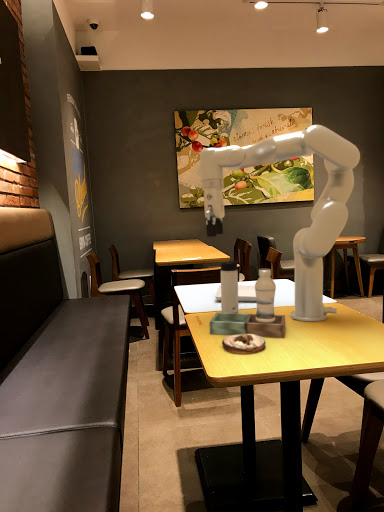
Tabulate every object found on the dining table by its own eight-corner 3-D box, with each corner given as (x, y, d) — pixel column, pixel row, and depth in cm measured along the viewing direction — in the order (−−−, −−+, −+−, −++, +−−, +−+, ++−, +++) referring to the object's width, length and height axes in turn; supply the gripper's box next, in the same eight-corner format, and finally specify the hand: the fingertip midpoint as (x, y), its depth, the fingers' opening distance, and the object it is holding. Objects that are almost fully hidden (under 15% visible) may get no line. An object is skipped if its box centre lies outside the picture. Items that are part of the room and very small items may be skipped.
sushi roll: (217, 339, 122) (216, 326, 122) (266, 338, 121) (266, 325, 121) (218, 358, 108) (217, 343, 107) (273, 357, 107) (273, 342, 106)
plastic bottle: (261, 326, 132) (260, 267, 129) (279, 330, 127) (279, 268, 125) (251, 332, 127) (250, 270, 124) (270, 335, 122) (269, 272, 120)
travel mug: (238, 316, 145) (237, 262, 142) (220, 315, 146) (219, 262, 144) (240, 311, 151) (239, 259, 148) (222, 311, 152) (221, 259, 150)
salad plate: (266, 304, 162) (266, 295, 162) (214, 303, 166) (214, 295, 165) (265, 292, 183) (265, 285, 183) (219, 292, 186) (219, 285, 186)
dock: (285, 326, 131) (285, 315, 130) (283, 337, 120) (283, 325, 120) (216, 323, 137) (216, 312, 136) (209, 333, 126) (209, 321, 126)
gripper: (217, 183, 127) (220, 237, 129) (228, 185, 143) (231, 232, 145) (194, 185, 129) (197, 237, 131) (208, 186, 145) (211, 233, 147)
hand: (215, 235), depth 138 cm, fingers open, 9 cm apart
